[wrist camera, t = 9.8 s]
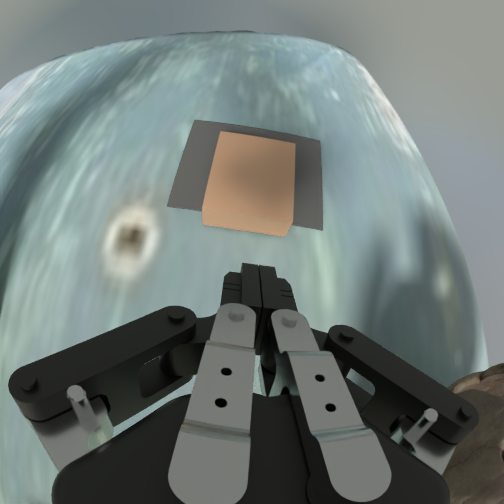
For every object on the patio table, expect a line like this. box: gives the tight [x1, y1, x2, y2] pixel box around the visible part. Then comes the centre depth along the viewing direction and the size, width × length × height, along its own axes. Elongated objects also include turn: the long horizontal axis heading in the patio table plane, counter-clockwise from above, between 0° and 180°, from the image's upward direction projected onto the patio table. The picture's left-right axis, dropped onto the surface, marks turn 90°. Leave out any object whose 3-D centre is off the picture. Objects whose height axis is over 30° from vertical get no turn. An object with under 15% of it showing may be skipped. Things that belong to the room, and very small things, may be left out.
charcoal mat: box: [167, 120, 323, 230], centre depth 39 cm, size 20×16×1 cm
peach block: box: [202, 131, 295, 237], centre depth 35 cm, size 10×4×12 cm
